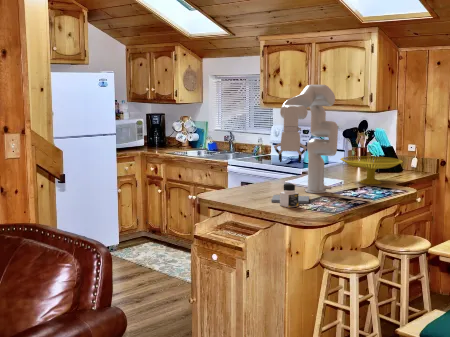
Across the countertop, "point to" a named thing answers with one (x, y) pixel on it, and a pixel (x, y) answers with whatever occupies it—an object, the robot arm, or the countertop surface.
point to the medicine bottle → (289, 196)
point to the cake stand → (371, 166)
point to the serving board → (300, 199)
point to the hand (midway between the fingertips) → (289, 162)
